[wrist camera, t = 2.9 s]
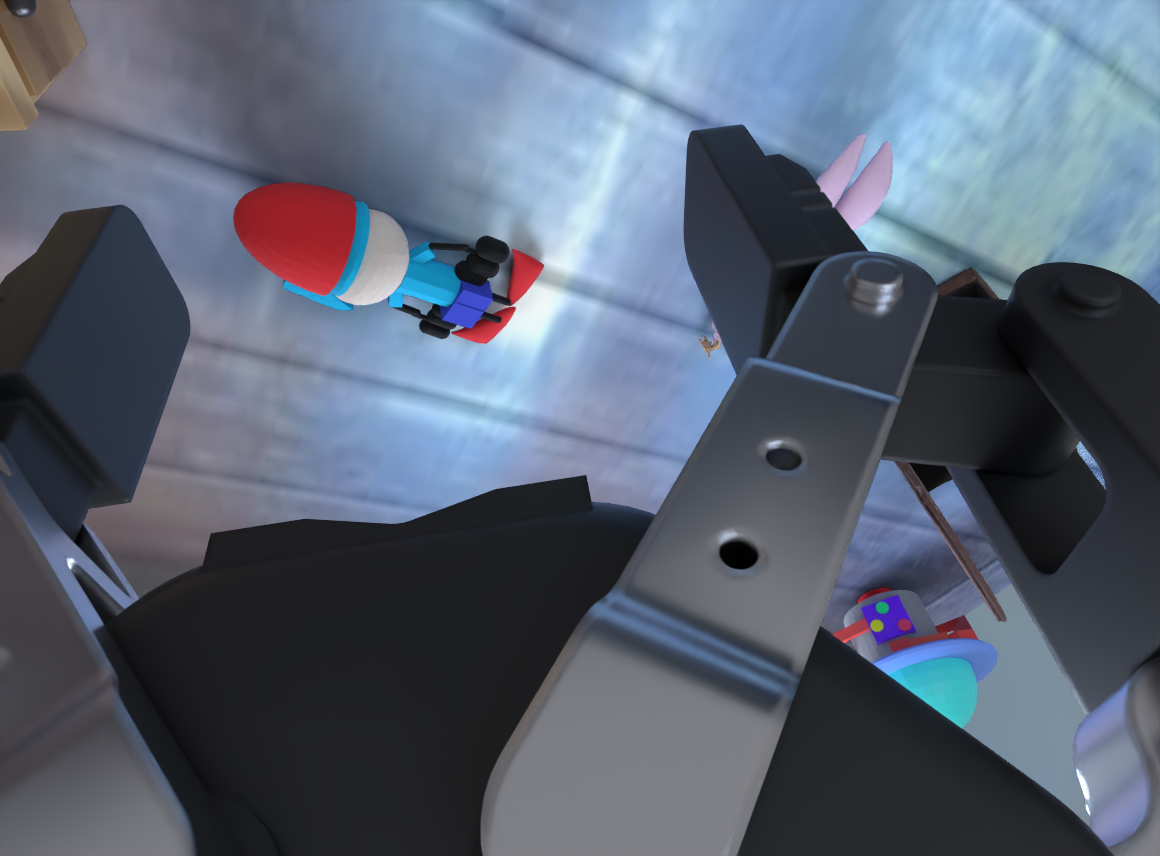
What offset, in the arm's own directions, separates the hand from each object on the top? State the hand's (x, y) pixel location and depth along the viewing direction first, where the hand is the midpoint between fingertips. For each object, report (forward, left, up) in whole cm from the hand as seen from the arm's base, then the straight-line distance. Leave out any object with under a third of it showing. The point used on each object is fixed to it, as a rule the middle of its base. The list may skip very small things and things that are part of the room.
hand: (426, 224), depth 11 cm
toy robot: (+37, -58, -24) cm, 73 cm away
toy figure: (-4, -15, -24) cm, 29 cm away
